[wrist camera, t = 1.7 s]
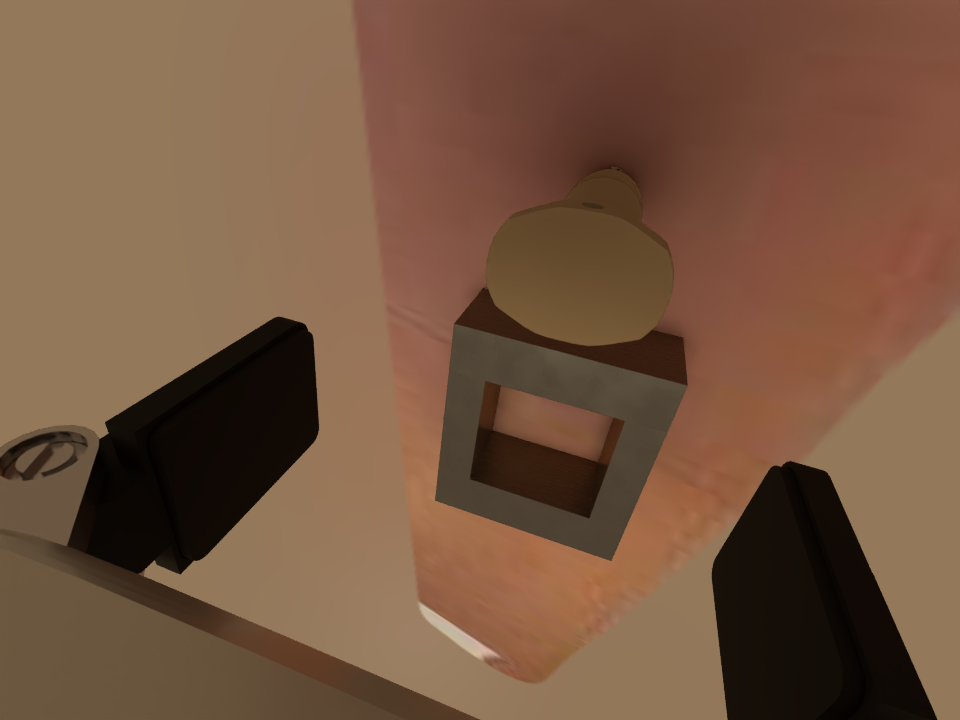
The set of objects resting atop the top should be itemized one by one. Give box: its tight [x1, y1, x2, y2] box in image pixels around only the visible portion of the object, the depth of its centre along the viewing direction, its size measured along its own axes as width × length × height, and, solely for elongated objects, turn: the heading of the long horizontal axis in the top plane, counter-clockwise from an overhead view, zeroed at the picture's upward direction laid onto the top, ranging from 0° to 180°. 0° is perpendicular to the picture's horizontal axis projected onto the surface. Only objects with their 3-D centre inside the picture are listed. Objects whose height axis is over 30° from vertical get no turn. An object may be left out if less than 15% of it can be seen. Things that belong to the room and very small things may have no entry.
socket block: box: [435, 289, 688, 561], centre depth 35 cm, size 16×14×6 cm
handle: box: [486, 167, 674, 346], centre depth 23 cm, size 5×6×15 cm
